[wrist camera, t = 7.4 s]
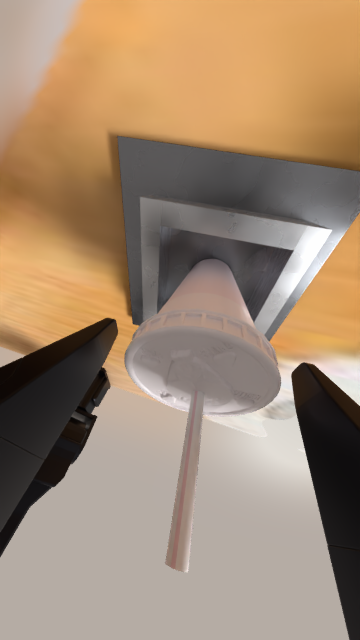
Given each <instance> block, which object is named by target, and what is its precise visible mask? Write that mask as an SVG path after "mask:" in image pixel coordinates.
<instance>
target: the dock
mask: <svg viewBox="0 0 360 640" xmlns="http://www.w3.org/2000/svg"><path fill="white" fill-rule="evenodd" d="M118 149H119V161H120V173H121V185H122V198H123V210H124V222H125V234H126V247H127V259H128V271H129V283H130V296H131V308H132V320H133V324H135V325H139V326H140V325H141V324H142V323H143V322H145V321H146V320H148V319H149V318H151V317H152V316H154V315H156V314H158V313H159V311H160V310H161V309H162V307H163V306H164V305H165V304H166V302H167V301H168V300H169V298H170V297H171V296H172V294H173V293H174V292H175V290H176V289H177V288H178V287H179V285H180V284H181V283H182V281H183V280H184V279H185V277H186V276H187V275H188V273H189V272H190V271H191V269H192V268H193V267H194V266H195V265H196V264H197V263H198V262H200V261H202V260H205V259H218V260H220V261H222V262H224V263H225V264H227V265H228V267H229V268H230V270H231V272H232V274H233V276H234V279H235V281H236V284H237V286H238V288H239V291H240V293H241V295H242V298H243V300H244V302H245V305H246V307H247V309H248V312H249V314H250V316H251V319H252V321H253V323H254V325H255V328H256V329H257V330H258V331H260V332H261V333H262V334H264V335H265V337H266V338H267V340H268V341H270V340H271V338H272V337H273V335H274V334H275V332H276V331H277V330H278V328H279V327H280V325H281V324H282V322H283V321H284V320H285V318H286V317H287V315H288V314H289V312H290V311H291V310H292V308H293V307H294V305H295V304H296V302H297V301H298V300H299V298H300V297H301V295H302V294H303V292H304V291H305V290H306V288H307V287H308V285H309V284H310V282H311V281H312V280H313V278H314V277H315V275H316V274H317V272H318V271H319V270H320V268H321V267H322V265H323V264H324V262H325V261H326V260H327V258H328V257H329V255H330V254H331V252H332V251H333V250H334V248H335V247H336V245H337V244H338V242H339V241H340V240H341V238H342V237H343V235H344V234H345V232H346V231H347V230H348V228H349V227H350V225H351V224H352V222H353V221H354V220H355V218H356V217H357V215H358V214H359V212H360V171H354V170H347V169H340V168H333V167H326V166H319V165H313V164H306V163H299V162H292V161H285V160H278V159H272V158H265V157H258V156H251V155H244V154H237V153H231V152H224V151H217V150H210V149H203V148H196V147H190V146H183V145H176V144H169V143H162V142H155V141H149V140H142V139H135V138H128V137H121V136H118Z"/></svg>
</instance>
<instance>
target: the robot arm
mask: <svg viewBox="0 0 360 640" xmlns="http://www.w3.org/2000/svg"><path fill="white" fill-rule="evenodd" d="M117 334H118V329H117V323H116V320H115V319H111V318H105V319H103V320H101V321H99V322H97V323H95V324H92V325H90V326H88V327H86V328H84V329H82V330H80V331H78V332H75V333H73V334H71V335H69V336H67V337H65V338H63V339H60V340H58V341H56V342H54V343H52V344H50V345H48V346H46V347H43V348H41V349H39V350H37V351H35V352H33V353H31V354H28V355H26V356H24V357H23V358H20V359H18V360H16V361H13V362H11V363H9V364H7V365H5V366H2V367H0V557H1V555H2V553H3V551H4V550H5V548H6V546H7V545H8V543H9V541H10V540H11V538H12V536H13V535H14V533H15V531H16V529H17V528H18V526H19V524H20V523H21V521H22V519H23V518H24V516H25V514H26V513H27V511H28V509H29V508H30V506H32V505H33V504H34V503H35V502H36V501H37V500H38V499H39V498H41V497H42V496H43V495H44V494H45V493H46V492H47V491H48V490H49V489H51V488H52V487H55V486H56V485H57V484H58V483H59V482H60V481H61V480H62V479H63V478H64V476H65V474H66V472H67V470H68V468H69V466H70V464H73V463H74V461H75V460H76V459H77V457H78V456H79V454H80V453H81V451H82V450H83V448H84V446H85V444H86V442H87V439H88V437H89V435H90V432H91V430H92V428H93V426H94V423H95V421H96V418H97V416H96V415H92V414H91V413H92V411H93V409H94V408H95V407H98V406H99V404H100V403H101V401H102V399H103V397H104V396H105V394H106V392H107V390H108V389H110V383H109V380H108V376H107V373H106V370H105V369H102V368H101V367H102V366H103V364H104V362H105V360H106V358H107V356H108V354H109V352H110V350H111V348H112V345H113V343H114V341H115V339H116V337H117ZM291 378H292V386H293V394H294V402H295V409H296V413H297V418H298V422H299V426H300V431H301V435H302V439H303V443H304V448H305V452H306V456H307V460H308V465H309V468H310V473H311V477H312V481H313V486H314V490H315V494H316V499H317V503H318V507H319V511H320V515H321V520H322V524H323V528H324V532H325V537H326V541H327V544H328V550H329V554H330V559H331V563H332V567H333V571H334V576H335V580H336V584H337V589H338V593H339V597H340V601H341V605H342V609H343V614H344V618H345V622H346V627H347V631H348V635H349V640H360V406H359V405H358V404H357V403H356V402H355V401H354V400H352V399H351V398H350V397H349V396H348V395H347V394H346V393H345V392H344V391H342V390H341V389H340V388H339V387H338V386H337V385H336V384H335V383H334V382H332V381H331V380H330V379H329V378H328V377H327V376H326V375H325V374H324V373H323V372H321V371H320V370H319V369H318V368H317V367H316V366H315V365H313V364H309V363H301V364H300V365H299V366H298V367H297V368H296V369H295V370H294V371H293V372H292V376H291Z"/></svg>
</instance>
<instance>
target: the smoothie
mask: <svg viewBox="0 0 360 640" xmlns="http://www.w3.org/2000/svg"><path fill="white" fill-rule="evenodd" d="M277 365H278V363H277V358H276V354H275V349H274V348H273V347H272V345H271V344H270V342H269V341H268V340H267V338H266V337H265V335H264V334H262V333H261V332H260V331H258V330H257V329H256V328H255V325H254V323H253V321H252V319H251V316H250V314H249V312H248V309H247V307H246V305H245V302H244V300H243V298H242V295H241V293H240V291H239V288H238V286H237V284H236V281H235V279H234V276H233V274H232V272H231V270H230V268H229V267H228V265H227V264H225V263H224V262H222V261H220V260H218V259H205V260H202V261H200V262H198V263H197V264H196V265H195V266H194V267H193V268H192V269H191V271H190V272H189V273H188V275H187V276H186V277H185V279H184V280H183V281H182V283H181V284H180V285H179V287H178V288H177V289H176V290H175V292H174V293H173V294H172V296H171V297H170V298H169V300H168V301H167V302H166V304H165V305H164V306H163V307H162V309H161V310H160V311H159V313H158V314H156V315H154V316H152V317H151V318H149V319H148V320H146V321H145V322H143V323H142V324H141V325H140V326H139V327H138V329H137V330H136V332H135V333H134V334H133V338H132V341H131V343H130V345H129V346H128V348H127V350H126V353H125V367H126V369H127V372H128V374H129V376H130V377H131V379H132V380H133V381H134V383H135V384H136V385H137V386H138V387H139V388H140V389H141V390H143V391H144V392H145V393H146V394H148V395H149V396H151V397H152V398H154V399H156V400H157V401H159V402H162V403H164V404H166V405H168V406H171V407H173V408H176V409H179V410H182V411H186V412H189V414H188V421H187V427H186V434H185V440H184V446H183V453H182V459H181V466H180V472H179V478H178V485H177V491H176V498H175V504H174V511H173V517H172V524H171V530H170V537H169V543H168V550H167V556H166V562H165V563H166V565H168V566H170V567H171V568H173V569H176V570H178V571H182V572H188V568H189V558H190V547H191V536H192V525H193V515H194V504H195V493H196V483H197V471H198V461H199V450H200V439H201V429H202V418H203V415H207V416H236V415H243V414H247V413H251V412H254V411H257V410H259V409H261V408H263V407H265V406H266V405H267V404H269V403H270V402H271V401H273V399H274V398H275V397H276V396H277V394H278V392H279V390H280V386H281V377H280V373H279V370H278V367H277Z"/></svg>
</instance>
